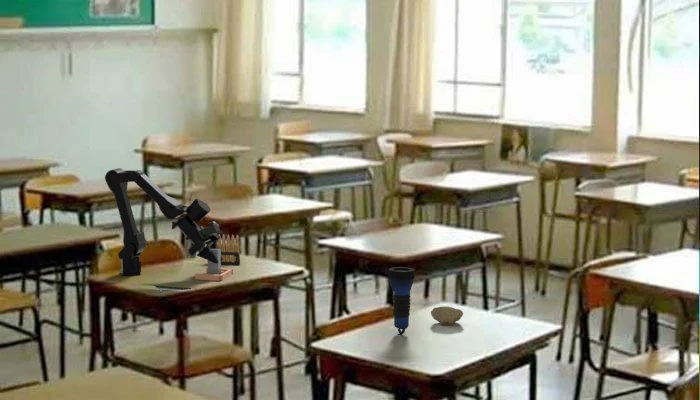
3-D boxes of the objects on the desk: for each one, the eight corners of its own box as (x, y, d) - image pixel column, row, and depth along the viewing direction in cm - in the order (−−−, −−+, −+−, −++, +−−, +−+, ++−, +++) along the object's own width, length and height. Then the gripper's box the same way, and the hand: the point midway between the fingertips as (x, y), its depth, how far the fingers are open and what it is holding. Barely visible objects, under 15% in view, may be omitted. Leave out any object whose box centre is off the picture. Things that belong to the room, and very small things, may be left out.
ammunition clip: (212, 264, 449) (211, 234, 448) (213, 263, 451) (212, 233, 449) (239, 265, 448) (239, 234, 447) (240, 264, 450) (240, 234, 448)
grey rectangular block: (207, 276, 422) (207, 249, 420) (210, 275, 425) (210, 248, 423) (218, 277, 421) (217, 250, 419) (220, 275, 424) (220, 248, 422)
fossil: (466, 308, 361) (436, 302, 359) (467, 320, 358) (436, 315, 356) (456, 321, 368) (426, 315, 366) (456, 333, 366) (426, 328, 363)
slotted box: (195, 282, 418) (195, 274, 418) (207, 275, 430) (207, 267, 429) (221, 284, 416) (221, 275, 415) (232, 277, 427) (232, 269, 427)
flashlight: (398, 328, 357) (399, 265, 354) (418, 333, 353) (420, 268, 350) (382, 334, 351) (383, 269, 348) (403, 338, 346) (404, 272, 343)
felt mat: (159, 291, 403) (159, 290, 403) (154, 285, 412) (154, 285, 412) (191, 289, 407) (191, 288, 407) (185, 283, 416) (185, 282, 415)
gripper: (196, 219, 411) (225, 252, 410) (215, 211, 429) (243, 242, 428) (175, 240, 414) (204, 272, 413) (195, 231, 432) (223, 262, 431)
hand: (220, 261), depth 421 cm, fingers open, 4 cm apart
